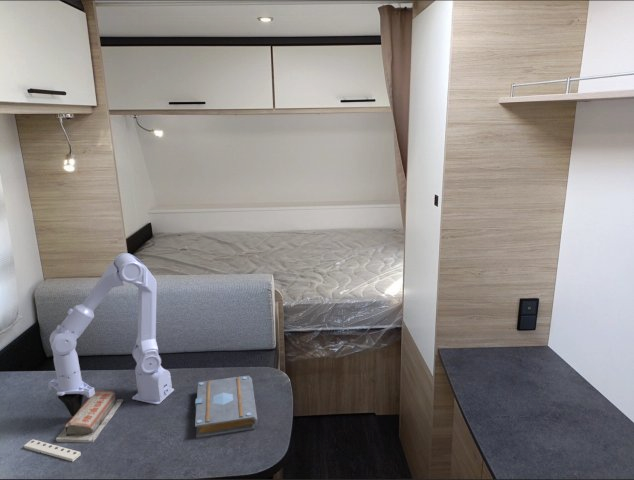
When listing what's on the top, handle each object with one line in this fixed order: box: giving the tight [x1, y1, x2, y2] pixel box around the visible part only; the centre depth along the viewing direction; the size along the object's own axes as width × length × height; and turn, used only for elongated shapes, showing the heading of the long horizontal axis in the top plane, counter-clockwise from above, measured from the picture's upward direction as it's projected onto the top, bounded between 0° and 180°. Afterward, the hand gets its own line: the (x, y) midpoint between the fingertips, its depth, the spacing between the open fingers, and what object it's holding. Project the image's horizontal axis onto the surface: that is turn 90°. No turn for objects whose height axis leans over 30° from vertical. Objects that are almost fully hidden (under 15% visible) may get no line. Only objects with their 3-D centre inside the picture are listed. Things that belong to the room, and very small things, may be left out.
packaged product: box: [55, 390, 124, 444], centre depth 127 cm, size 18×5×10 cm
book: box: [194, 375, 259, 439], centre depth 131 cm, size 21×16×5 cm
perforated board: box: [23, 439, 82, 462], centre depth 116 cm, size 16×2×1 cm, turn 71°
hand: (75, 414), depth 128 cm, fingers closed
